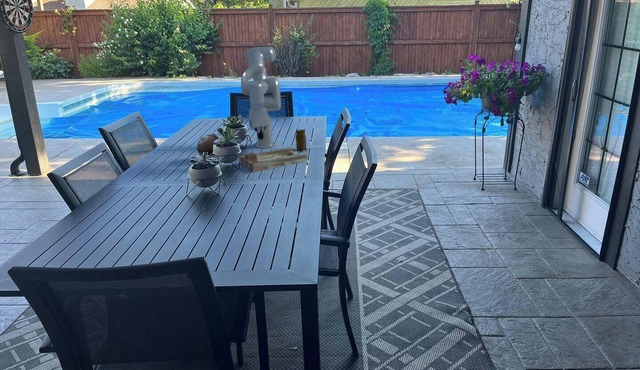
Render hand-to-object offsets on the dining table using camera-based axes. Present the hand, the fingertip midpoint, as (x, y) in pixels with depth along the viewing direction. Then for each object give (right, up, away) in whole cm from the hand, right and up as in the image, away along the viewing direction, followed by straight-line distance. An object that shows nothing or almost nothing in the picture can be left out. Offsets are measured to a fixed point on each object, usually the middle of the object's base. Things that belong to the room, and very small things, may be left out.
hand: (260, 139), depth 267 cm
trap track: (+7, -13, +3) cm, 15 cm away
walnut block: (-5, -12, 0) cm, 14 cm away
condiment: (+22, -4, +26) cm, 34 cm away
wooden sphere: (-30, -11, +14) cm, 35 cm away
